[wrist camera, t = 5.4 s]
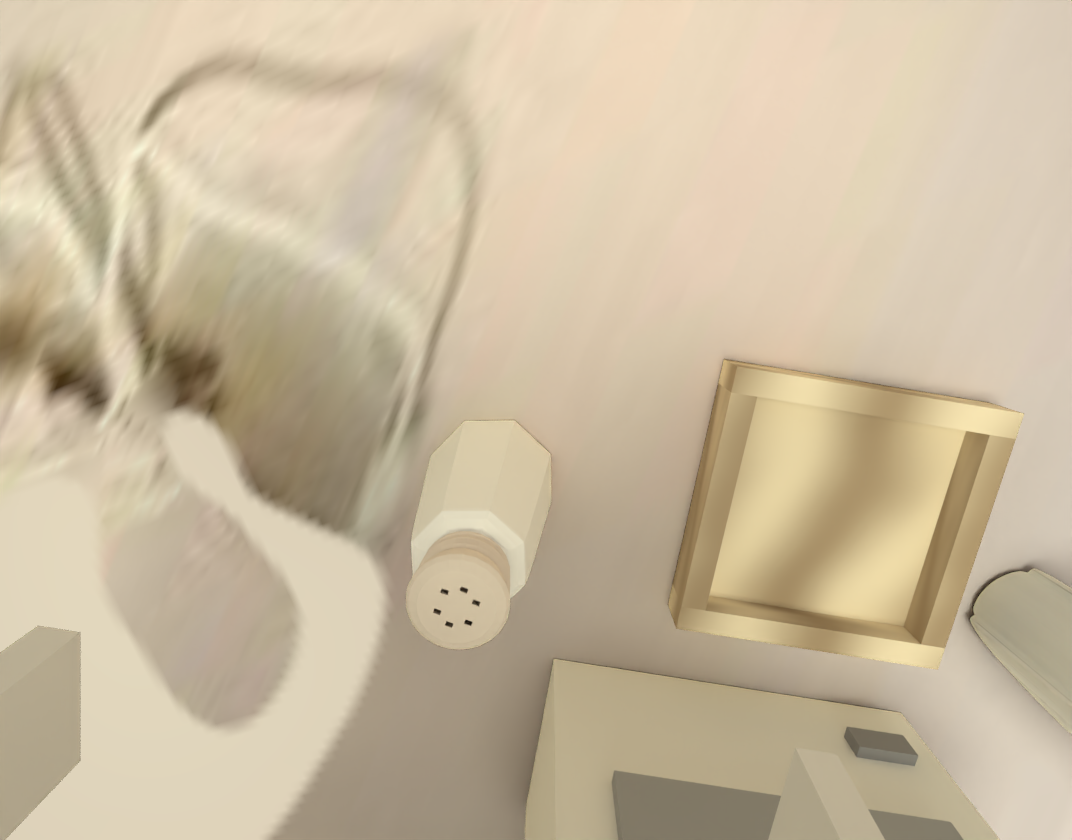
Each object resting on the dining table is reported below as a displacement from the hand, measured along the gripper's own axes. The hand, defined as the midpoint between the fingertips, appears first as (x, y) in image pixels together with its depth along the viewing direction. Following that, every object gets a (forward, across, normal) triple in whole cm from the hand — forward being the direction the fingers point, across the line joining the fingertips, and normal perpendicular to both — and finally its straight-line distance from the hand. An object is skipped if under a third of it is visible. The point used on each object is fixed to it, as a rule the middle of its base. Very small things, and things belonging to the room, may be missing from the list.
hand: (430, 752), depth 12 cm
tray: (+17, +14, +1) cm, 21 cm away
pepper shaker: (+17, 0, 0) cm, 17 cm away
